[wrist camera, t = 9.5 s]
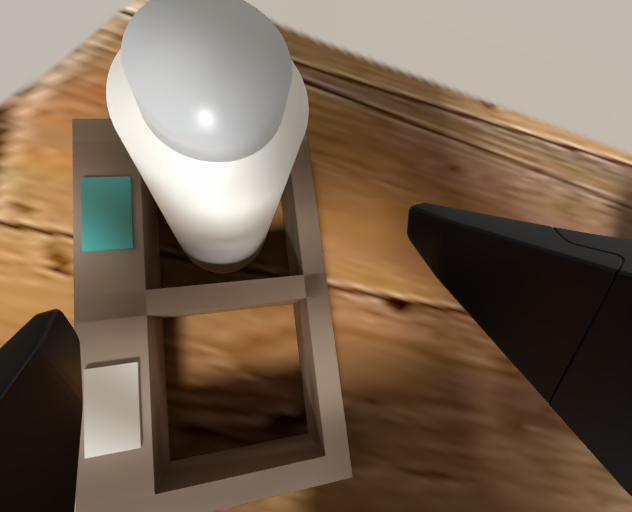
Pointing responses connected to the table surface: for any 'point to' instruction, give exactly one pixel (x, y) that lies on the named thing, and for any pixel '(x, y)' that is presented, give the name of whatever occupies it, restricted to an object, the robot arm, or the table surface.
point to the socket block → (149, 356)
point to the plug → (209, 121)
